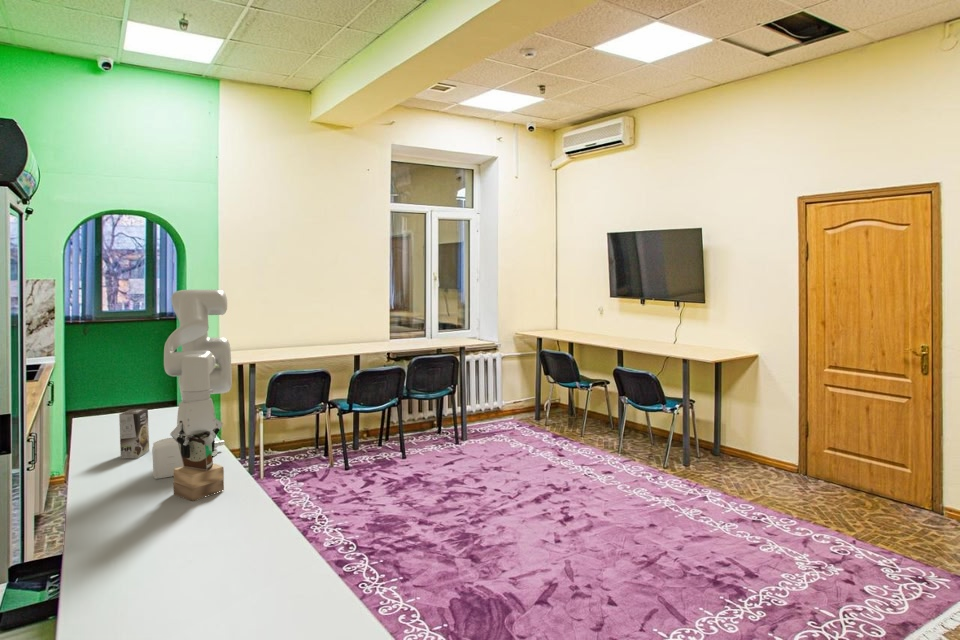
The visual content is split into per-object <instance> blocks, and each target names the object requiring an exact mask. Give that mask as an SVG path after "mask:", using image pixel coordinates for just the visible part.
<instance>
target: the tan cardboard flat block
mask: <svg viewBox="0 0 960 640" xmlns="http://www.w3.org/2000/svg"><path fill="white" fill-rule="evenodd" d="M224 481H225V479H224V480H221V481H217V482H214V483H211V484H207V485H204V486H200V487H197V488H194V489H191V488H188V487H186V486H183V485H180V484H178V483H175V482H174V481H173V488H172V489H173V491H172V492H173V495H174V496H177V497H180V498H182V499H185V500H188V499H189V500H188V501H190V500H192V501H191V502H195V501H194V500H196V501H198V500H197V499H199V498H202V497H205V496H208V495H211V494H214V493H217V492H219V491H222V490H224V491H225V486H224V484H225V483H224ZM217 494H218V493H217ZM214 495H215V494H214ZM211 496H212V495H211ZM208 497H209V496H208ZM205 498H206V497H205ZM202 499H203V498H202ZM199 500H200V499H199Z"/></svg>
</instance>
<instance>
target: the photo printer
mask: <svg viewBox="0 0 960 640" xmlns="http://www.w3.org/2000/svg"><path fill="white" fill-rule="evenodd" d="M151 450H152V451H151V452H152V454H151V455H152V471H153V472H152V473H153V479H154V480H159V479H164V478H169V477H174V472H173V469H175V468H179V467H183V462H182V458H181V454H180V450H179V446H178V442H176V440H175V439H174V438H173V437H167V438H163V439H160V440H156V441H154V442H153V443H152V449H151Z"/></svg>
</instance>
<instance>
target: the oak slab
mask: <svg viewBox="0 0 960 640" xmlns="http://www.w3.org/2000/svg"><path fill="white" fill-rule="evenodd" d="M173 472H174V476H173V483H174V482H175V483H178V484H180V485H183V486H186V487H188V488H191V489H194V488H197V487H200V486H204V485H207V484H211V483H214V482H217V481H221V480H224V481H225V478H224V477H225V476H224V475H225V474H224V472H225V471H224V466H223V465H220V464H216V463H213V466H212V467H211V468H210V469H209V470H208V471H206V470H200V469H194V468H188V467H184V466H183V467H179V468H175V469H173Z"/></svg>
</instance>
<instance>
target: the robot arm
mask: <svg viewBox="0 0 960 640" xmlns="http://www.w3.org/2000/svg"><path fill="white" fill-rule="evenodd" d="M170 299H171V300H170V301H171V306H172V308H173V309H172V310H173V312H174V313H175V316H176V317H177V320H178V322H179V327H177V328H176V329H175V330H174V331H172V333H171V334H170V335H169V336H168V337H167V339H166V341H165V343H164V346H163V347H164V349H163V368H164V372H165V373H166V374H167V375H168V376H170V377H178V387H179V391H180V397H181V401H179V403H178V409H177V415H176V416H177V418H176V419H177V420H176V427H175V428H173V430H172V431H171V432H170V433H169V434H170V435H169V436H170V437H171V438H174V439H175V440H176V441H177V442H178V443H179V444H181V455H182V457H184V458H190V445H188V442H189V439H190V437H191V436H192V435H197V434H201V433H205V432H210V433H211V434H212V436H213V439H214V440H213V442H212V456H213V457H215V456H217V455H218V449H217V448H218V447H223V446H224V445H225V444H226V441H225V440H224V439H221V440H215V439H216V438H217V435H218V434H219V432H220V429H221V428H222V426H223V424H224V423H223V421H221V420H219V419H218V418H216V411H215V405H214V403H213V399H212V398H211V395H216V394H226V393H228V392H230V391H231V390H232V387H233V376H232V375H233V373H232V372H233V371H232V351H231V345H230V342H229V340H228V339H227V338H225V337H221V336H219V337H218V336H217V337H215V336H213V337H210V336H209V335H208V331H209V316H223V315H225V314H226V312H227V310H228V298H227V295H226V293H225V291H224V290H222V289H181V290H177V291H174V292H173V293H172V294H171V298H170ZM180 347H181V350H180V351H176V350H177V349H178V348H180ZM216 365H217V367H216ZM178 434H182V435H181V437H179V435H178ZM216 454H217V455H216Z"/></svg>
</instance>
